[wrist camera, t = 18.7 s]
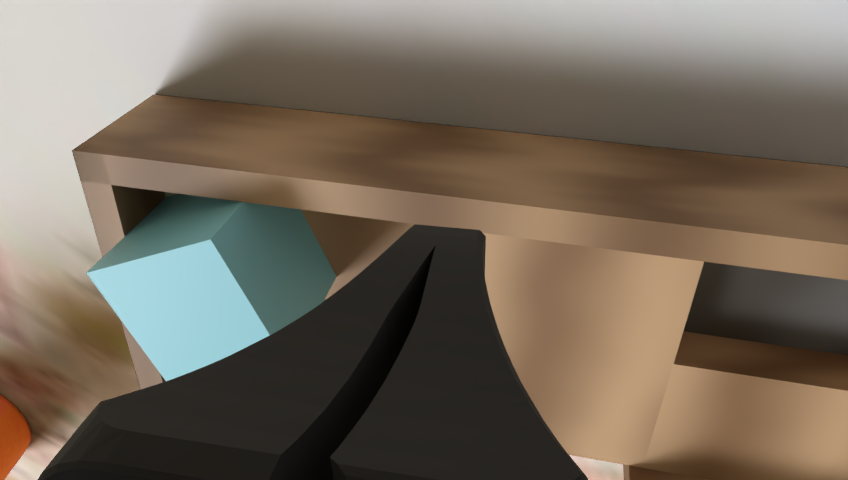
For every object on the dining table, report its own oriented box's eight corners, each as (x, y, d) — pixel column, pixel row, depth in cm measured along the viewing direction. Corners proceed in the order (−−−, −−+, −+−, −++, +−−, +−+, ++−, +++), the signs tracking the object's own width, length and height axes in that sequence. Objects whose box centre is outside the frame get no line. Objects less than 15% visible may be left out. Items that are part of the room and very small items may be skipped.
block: (336, 276, 24) (288, 365, 20) (232, 300, 25) (170, 386, 22) (275, 163, 22) (210, 239, 18) (166, 197, 23) (86, 273, 20)
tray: (1285, 213, 18) (1457, 319, 15) (1037, 513, 26) (1111, 635, 22) (153, 94, 24) (71, 150, 20) (210, 370, 31) (157, 449, 27)
